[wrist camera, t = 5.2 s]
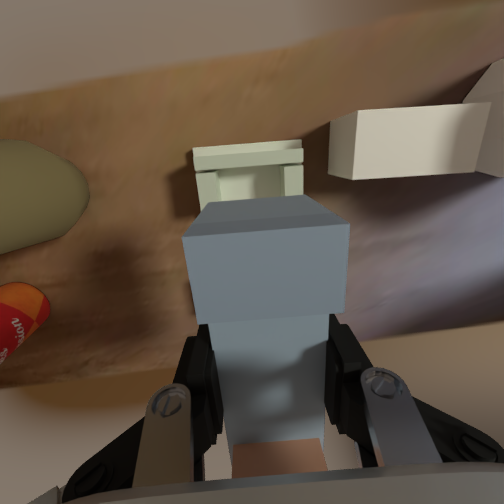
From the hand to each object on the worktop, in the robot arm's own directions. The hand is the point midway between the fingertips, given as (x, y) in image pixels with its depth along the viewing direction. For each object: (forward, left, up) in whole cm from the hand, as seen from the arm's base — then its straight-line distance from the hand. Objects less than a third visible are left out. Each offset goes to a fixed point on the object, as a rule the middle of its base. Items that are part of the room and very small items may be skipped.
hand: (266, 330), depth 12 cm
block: (-12, -7, -15) cm, 21 cm away
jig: (0, 0, -15) cm, 15 cm away
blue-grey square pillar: (0, 0, -1) cm, 1 cm away
